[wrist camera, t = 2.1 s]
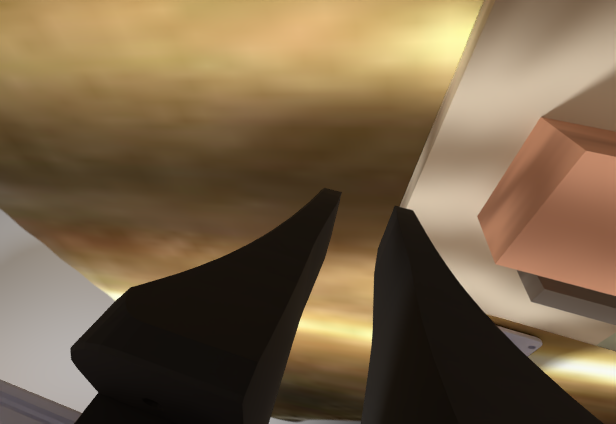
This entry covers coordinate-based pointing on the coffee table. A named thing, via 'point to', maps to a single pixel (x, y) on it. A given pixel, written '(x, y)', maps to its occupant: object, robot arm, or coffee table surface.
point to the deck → (516, 148)
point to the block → (558, 207)
